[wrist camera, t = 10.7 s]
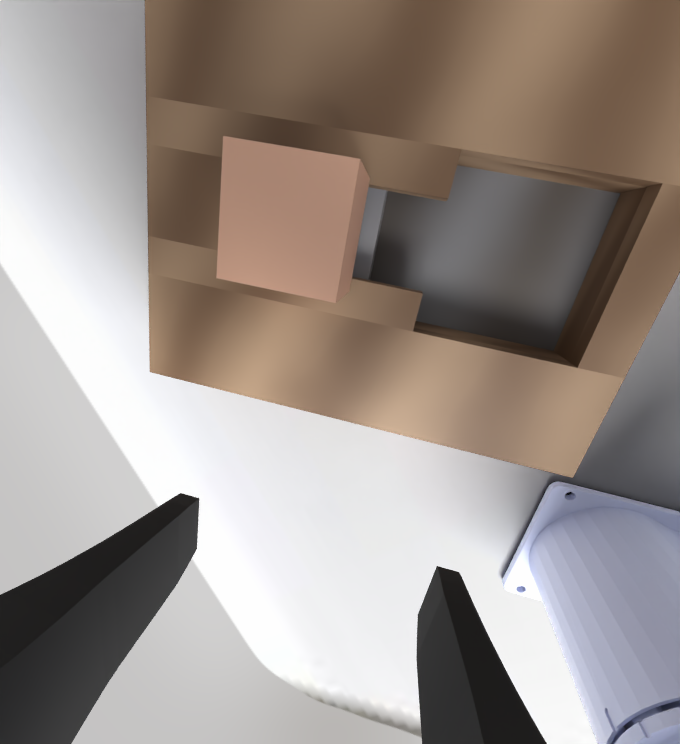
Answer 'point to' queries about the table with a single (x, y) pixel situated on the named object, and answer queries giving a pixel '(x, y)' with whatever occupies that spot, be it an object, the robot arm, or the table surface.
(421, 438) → the keyhole plate
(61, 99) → the table surface
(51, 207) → the table surface
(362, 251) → the peach colored cube
